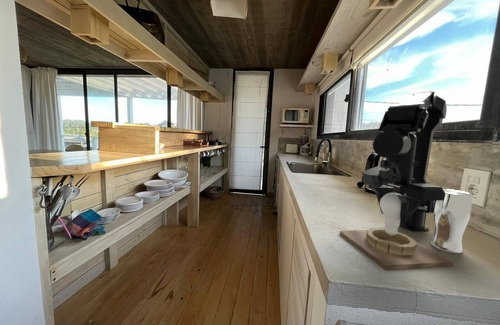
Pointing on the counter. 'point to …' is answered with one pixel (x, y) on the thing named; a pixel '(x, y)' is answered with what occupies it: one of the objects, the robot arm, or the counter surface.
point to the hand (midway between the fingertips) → (392, 218)
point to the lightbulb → (391, 212)
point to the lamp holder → (394, 249)
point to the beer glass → (451, 220)
